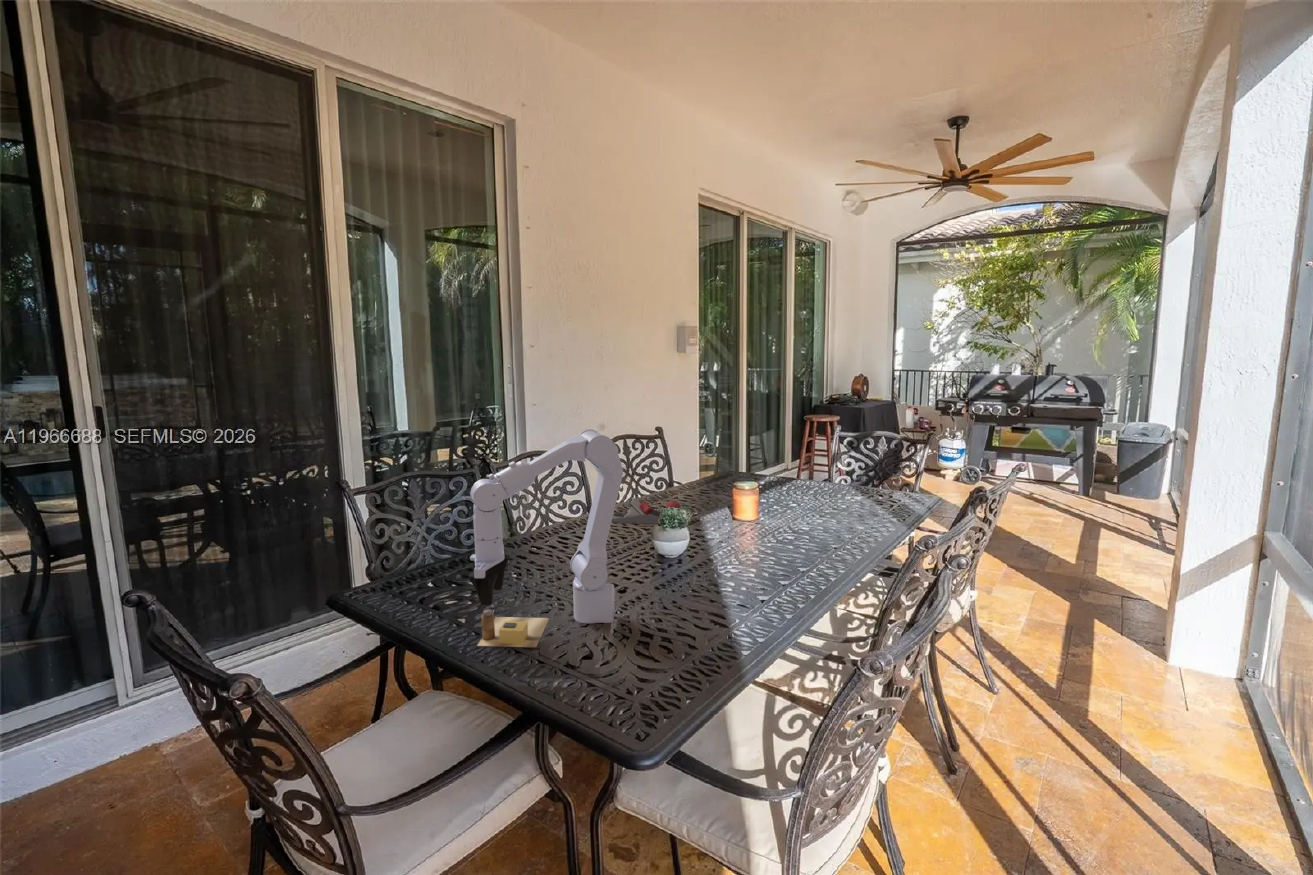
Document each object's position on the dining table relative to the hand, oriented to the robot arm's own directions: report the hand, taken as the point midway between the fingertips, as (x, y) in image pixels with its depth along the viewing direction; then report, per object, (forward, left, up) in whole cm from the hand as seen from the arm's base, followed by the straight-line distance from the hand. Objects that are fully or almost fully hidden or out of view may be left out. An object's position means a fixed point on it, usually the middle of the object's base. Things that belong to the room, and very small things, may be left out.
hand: (491, 596), depth 132 cm
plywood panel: (-4, -1, -10) cm, 11 cm away
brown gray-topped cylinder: (+1, +2, -9) cm, 9 cm away
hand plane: (-25, -85, -10) cm, 89 cm away
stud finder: (-5, +2, -9) cm, 10 cm away
